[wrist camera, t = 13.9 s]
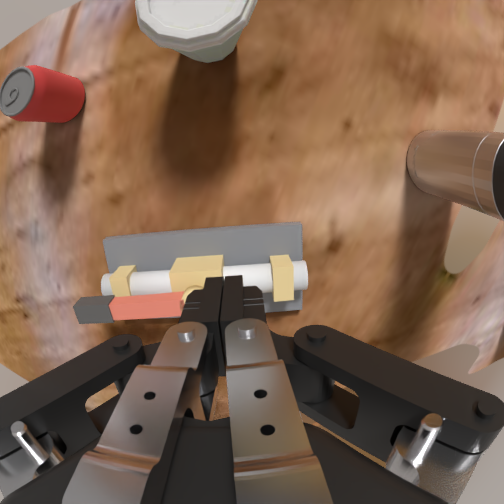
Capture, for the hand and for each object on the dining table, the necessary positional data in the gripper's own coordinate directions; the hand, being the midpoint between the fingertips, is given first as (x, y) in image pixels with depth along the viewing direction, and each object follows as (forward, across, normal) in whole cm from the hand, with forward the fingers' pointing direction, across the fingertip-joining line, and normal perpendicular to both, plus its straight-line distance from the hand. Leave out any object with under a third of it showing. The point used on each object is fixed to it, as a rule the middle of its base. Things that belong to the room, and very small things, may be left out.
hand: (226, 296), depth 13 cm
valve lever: (+20, +12, +10) cm, 25 cm away
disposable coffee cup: (+27, +2, -20) cm, 34 cm away
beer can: (+27, +22, -16) cm, 38 cm away
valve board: (+27, +5, +10) cm, 29 cm away
